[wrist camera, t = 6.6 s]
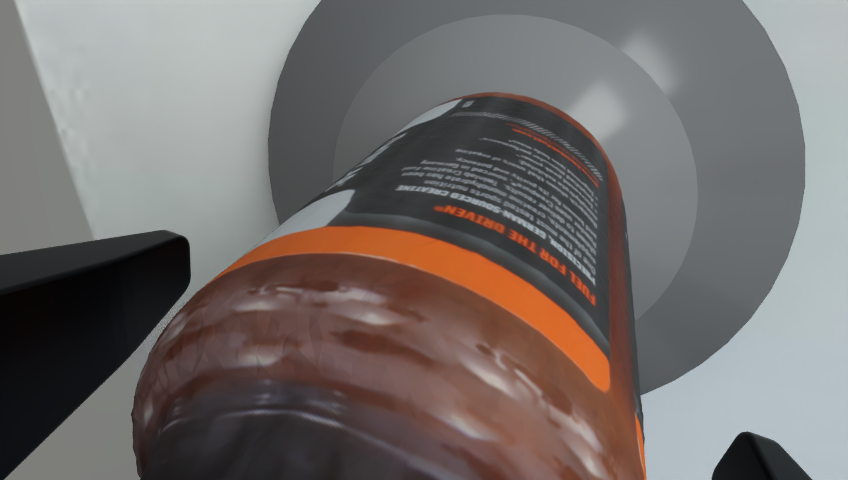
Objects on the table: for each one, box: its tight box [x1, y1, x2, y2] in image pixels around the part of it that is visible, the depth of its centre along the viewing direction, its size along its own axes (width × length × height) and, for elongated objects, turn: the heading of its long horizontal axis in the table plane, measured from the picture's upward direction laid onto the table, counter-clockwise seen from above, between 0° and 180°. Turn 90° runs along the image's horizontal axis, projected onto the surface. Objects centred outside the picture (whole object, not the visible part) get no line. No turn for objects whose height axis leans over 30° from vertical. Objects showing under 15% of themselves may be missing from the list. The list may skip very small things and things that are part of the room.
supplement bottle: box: [131, 92, 646, 480], centre depth 8 cm, size 6×6×11 cm
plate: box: [268, 0, 805, 395], centre depth 14 cm, size 13×13×1 cm
